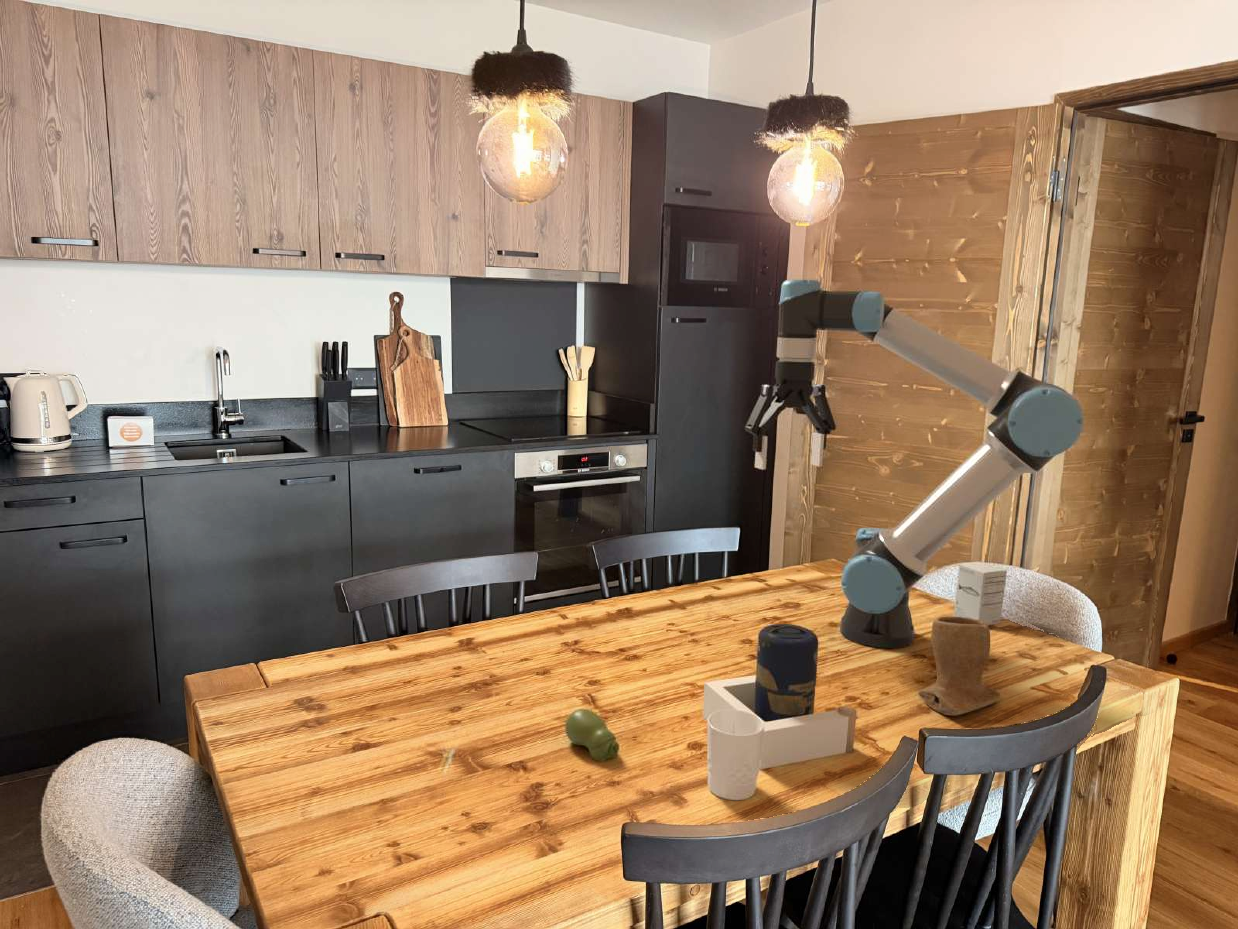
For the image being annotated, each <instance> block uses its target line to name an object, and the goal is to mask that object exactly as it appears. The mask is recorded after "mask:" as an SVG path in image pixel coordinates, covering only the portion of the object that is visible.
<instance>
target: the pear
mask: <svg viewBox="0 0 1238 929" xmlns="http://www.w3.org/2000/svg"><path fill="white" fill-rule="evenodd" d="M564 731H565V734H566V736H567V738H568V740H569V741H570V742H571V743H573V744H575V745H577V746H583V747H586V748H587V749H588V750H589V756H590V757H591V758H592V759H593V760H596V761H598V762H603V761H606V760H610V759H612V758H614V757H617V756H618V752H619V751H620V744H619V743H618V742H617V741H616V739H617V737H616V735H615V734H614V733H613V732H612V731H611V730H609V728H608V726H607V723H606V722H605V721H604V719H602V717H601V716H600V715H598V714H597V713H596V712H594V711H593V710H590V709H585V708H579V709H575V710H574V711H572V712H571V713H570V714H569V715H568V717H567V718H566V720H565V726H564Z"/></svg>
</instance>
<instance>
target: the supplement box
mask: <svg viewBox="0 0 1238 929" xmlns="http://www.w3.org/2000/svg"><path fill="white" fill-rule="evenodd" d="M957 573H958V575H957V583H956V592H955V601H954V610H953V617H964V618H971V619H974V620H980V621H983V622H985V623H986V624H987V625H988V626H992V625H997V624H1000V623H1001V621H1002V620H1001V619H1002V612H1003V604H1004V597H1005V588H1006V580H1007V573H1008V569H1007V570H1006V569H1003V568H1001V567H997V566H994V565H991V564H989V563H986V562H983V561H973V562H964V563H960V564H959V566H958V572H957Z"/></svg>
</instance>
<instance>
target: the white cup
mask: <svg viewBox="0 0 1238 929" xmlns="http://www.w3.org/2000/svg"><path fill="white" fill-rule="evenodd" d="M763 734H764V722H763V721H762V719H760V718H759V717H758V716H756V715H754V714H752V713H749V712H746V711H741V710H720V711H716V712H714V713H712V714H711V715H710V716H709V717H708V721H707V736H706V738H707V741H706V742H707V745H706V746H707V747H706V753H707V754H706V757H707V760H706V762H707V764H706V765H707V766H706V768H707V787H708V789H709V791H710V792H711V793H712V794H713V795H715V796H717V797H718V798H721V799H725V800H730V801H742V800H747V799H750V798H751V797H753V796H754V794H755V792H756V789H757V784H758V782H757V781H758V775H759V773H760V772H759V771H760V769H759V765H760V758H761V751H762V742H763Z"/></svg>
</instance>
